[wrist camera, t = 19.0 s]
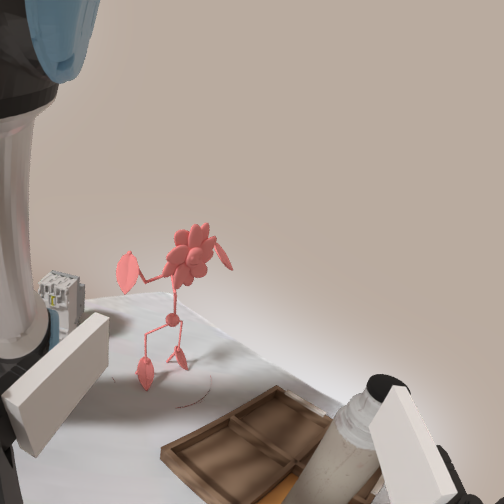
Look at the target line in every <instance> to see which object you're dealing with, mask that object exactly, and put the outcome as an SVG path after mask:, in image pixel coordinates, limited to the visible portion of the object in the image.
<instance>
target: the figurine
mask: <svg viewBox="0 0 504 504" xmlns="http://www.w3.org/2000/svg"><path fill="white" fill-rule="evenodd" d="M208 235H209V224H208V223H204V224H203V225H202V226H201V227H200V226H199V225H198V224H194V225H193V226H192V227H191V230H190V232H189V231H186V230H178V231H177V232H176V233H175V235H174V241H175V245H176V247H175V248H173V249H172V250H171V251H170V252H169V253H168V255H167V256H166V260H167V261H168V262H167V263H166V265H165V267H164V269H163V272H162V275H159V276H157V277H154V278H151V279H149V280H145V278H144V276H143V274H142V273H141V271H140V269H139V266H138V263H137V259H136V257H134V256H133V255H132V252H131V251H128V252H127V254H125V255H123V256H122V257H121V259H120V261H119V262H118V265H117V270H116V276H117V282H118V284H119V286H120V288H121V290H122V292H123V293H124V295H125V294H127V292H129V291H130V289H131V288H132V287H133V286H134V285H135V283H136V280H137V278H138V275H140V277H141V278H142V280H143V282H145V284H146V283H149V282H152V281H154V280H157V279H159V278H162V277H164V278H165V277H169V276H171V281H172V286H173V292H174V313H170V314H169V315H167V317H166V323H167V324H165V325H163V326H161V327H159V328H156V329H154V330H152V331H150V332H147V333H145V357H143V358H141V359H140V361H139V364H138V367H137V371H136V372H135V374H138V378H139V381H140V383H141V384H142V385H143V388H144V389H145V390H146V391H148V389H149V388H150V386H151V384H152V382H153V378H154V367H153V365H152V362H151V360H150V359H149V358H148V357H147V350H146V342H147V334H150V333H152V332H154V331H156V330H159V329H161V328H163V327H165V326H168V325H169V326H170V327H175V326H176V325H178V324H179V322H181V326H180V334H179V343H178V346H175V347H174V353H173V354H172V355H171V356H170V357H169V358H168V359H167V361H166V362H167V363H168V362H169V361H170V360H171V359H172V357H173V356H174V355H175V356H176V359H177V361H178V363H179V365H180V366H181V367H182V368H183V369H185V370H188V368H187V362H186V358H185V355H184V353H183V351H182V349H181V348H180V340H181V332H182V324H183V321H180V320H179V317H178V316H177V315H176V301H177V295H176V289H179V288H180V287H181V285H182V284H184V285H185V286H190V285H191V284H192V282H193V280H194V277H196V278H201V277H204V276H205V275H206V273H207V266H206V265H205V263H206V262H208V261H209V260H210V259H211V258H212V256H213V251H212V249H213V248H215V251H216V253H217V255H218V257H219V258H220V260H221V261H222V263H223V264H224V265H225V266H226V267H227V268H228V269H230V270H233V268H232V266H231V263H230V261H229V259H228V257H227V255H226V253H225V252H224V250H223V249H222V247H221V246H220V245H219V244H218V243H216V239H217V238H216V236H213V237H210V238H208ZM173 275H174V279H173ZM210 377H211V376H210ZM112 378H113V377H112ZM113 380H114V379H113ZM114 382H115V381H114ZM208 392H209V391H208ZM206 395H207V394H206ZM206 395H205V396H206ZM205 396H204V397H205ZM204 397H203V398H204ZM203 398H202V399H203ZM199 401H200V400H199ZM196 403H197V402H196ZM200 403H201V402H200ZM194 404H195V403H194ZM191 405H192V404H191ZM188 406H190V405H188ZM184 407H186V406H184ZM178 408H181V407H178Z"/></svg>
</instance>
